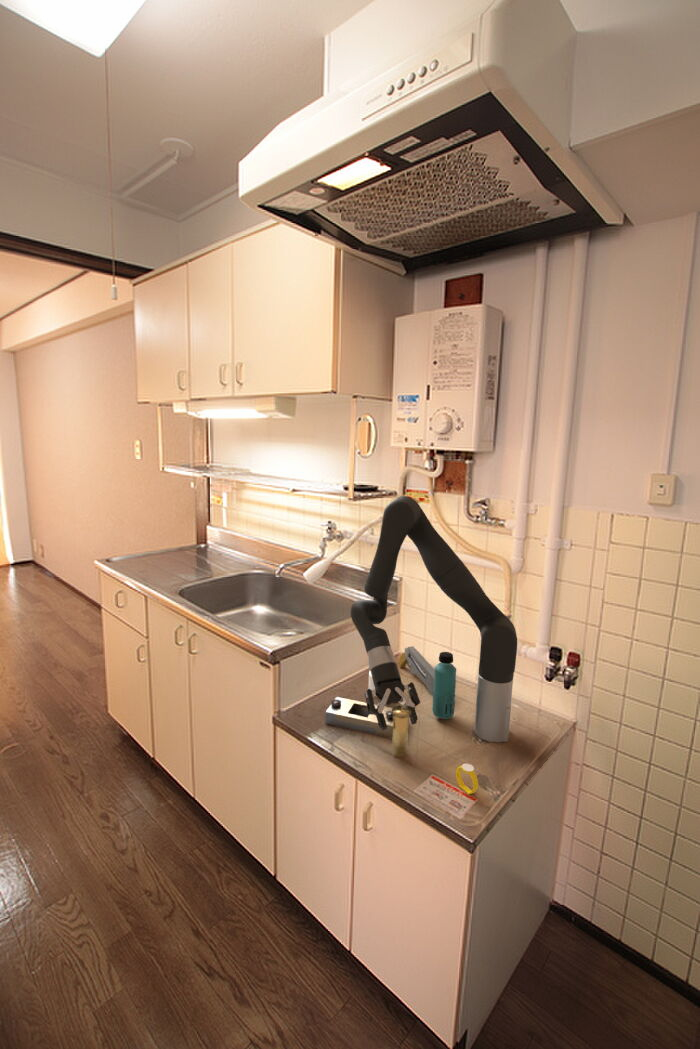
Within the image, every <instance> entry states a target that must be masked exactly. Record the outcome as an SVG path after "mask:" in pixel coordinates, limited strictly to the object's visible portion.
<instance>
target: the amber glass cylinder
mask: <svg viewBox="0 0 700 1049" xmlns="http://www.w3.org/2000/svg"><path fill="white" fill-rule="evenodd" d="M391 708H392V714H393V733H392V738H391V739H392V740H391V755H393V756H394V757H396V758H404V757H406V756H407V755H408V742H409V741H408V740H409V739H408V738H409V722H410V718H409V716H410V714H411V710H410V709H409V708H408V707H406V706H404V705H395V706H393V707H391Z"/></svg>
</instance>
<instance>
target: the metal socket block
mask: <svg viewBox="0 0 700 1049" xmlns="http://www.w3.org/2000/svg"><path fill="white" fill-rule="evenodd" d="M374 705H375V708H376V709H377V706H378V704H374ZM392 708H393V707H388V706H384V709H383V711H382V714H384V717H385V721H386V725H387V729H386V730H382V728H380V727H379V725H378V721H377V717H376V715H373V714H371V715H370V714H369V713H368V709H367V704H366V701H365V702H363V701H359V700H354V699H349V698H343V697H341V696H340V697H339V696H336V697H335V698H334V699H332V700H331V704H330V705H329V707H328V708H327V709H326V711H325V720H324V721H325V724H327V725H331V726H335V727H341V728H343V729H348V730H353V731H358V732H362V733H367V734H371V735H377V736H381V737H386V738H390V739H392V733H393V714H392Z"/></svg>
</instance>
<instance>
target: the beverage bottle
mask: <svg viewBox="0 0 700 1049" xmlns="http://www.w3.org/2000/svg"><path fill="white" fill-rule="evenodd" d="M438 661H439V662H438V663H437V664H436V665H435V666H434V670H435V676H434V690H433V696H432V704H431V707H432V710H431V712H432V713H433V715H434V716H435V717H436V718H439V719H443V720H447V719H452V718H453V716H454V714H455V709H456V706H455V705H456V699H455V698H456V686H457V668H456V666H454V664H453V662H454V654H453V653H451V652H449V651H441V652H440V653H439V656H438Z"/></svg>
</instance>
